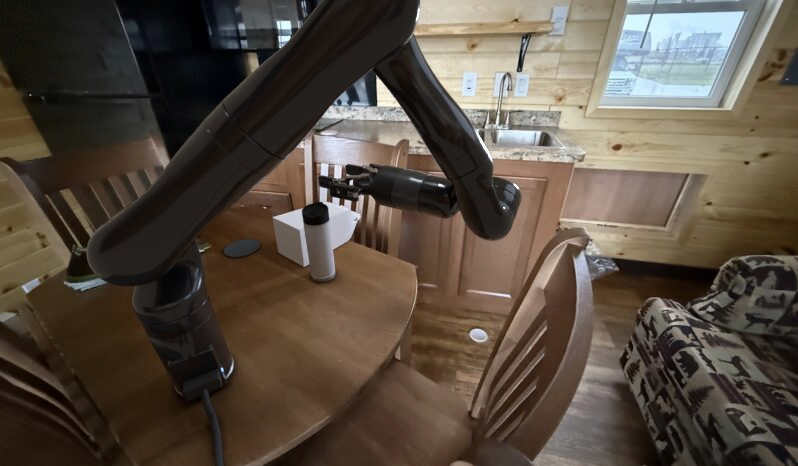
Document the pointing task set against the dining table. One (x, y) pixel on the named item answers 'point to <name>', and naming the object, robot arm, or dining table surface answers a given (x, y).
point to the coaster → (241, 248)
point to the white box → (293, 234)
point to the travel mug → (319, 241)
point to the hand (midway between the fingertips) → (333, 174)
